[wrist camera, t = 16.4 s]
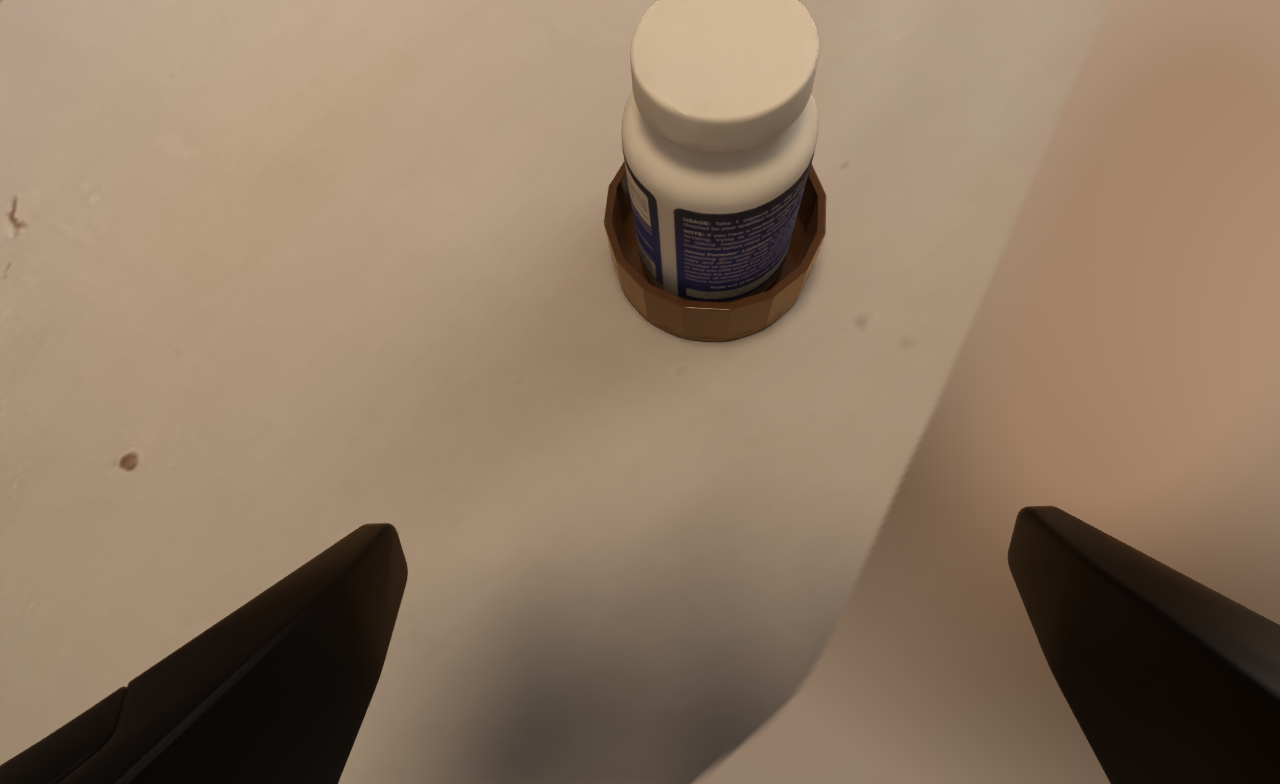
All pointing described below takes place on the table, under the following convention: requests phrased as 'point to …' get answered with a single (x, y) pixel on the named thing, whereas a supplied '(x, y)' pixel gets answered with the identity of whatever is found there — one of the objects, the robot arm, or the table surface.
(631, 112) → the pill bottle
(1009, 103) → the table surface
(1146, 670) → the robot arm
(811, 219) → the dock
